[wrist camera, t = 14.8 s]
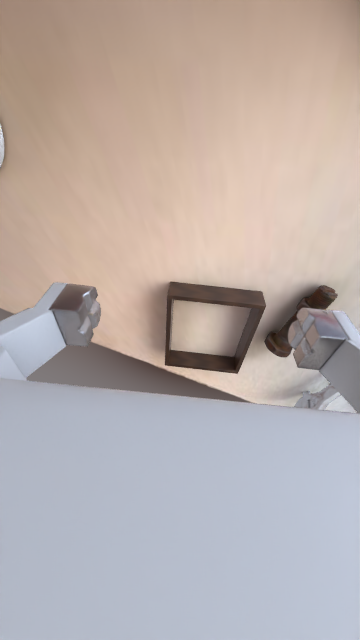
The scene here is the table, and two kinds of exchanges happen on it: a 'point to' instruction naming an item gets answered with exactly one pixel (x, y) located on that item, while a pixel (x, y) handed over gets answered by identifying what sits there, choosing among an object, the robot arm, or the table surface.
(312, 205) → the table surface
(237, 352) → the rectangular frame
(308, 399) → the wrench
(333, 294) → the bolt
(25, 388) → the robot arm
